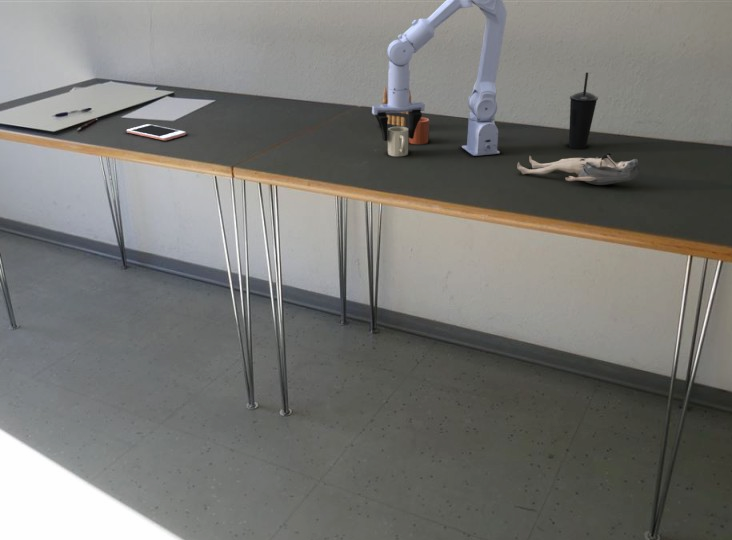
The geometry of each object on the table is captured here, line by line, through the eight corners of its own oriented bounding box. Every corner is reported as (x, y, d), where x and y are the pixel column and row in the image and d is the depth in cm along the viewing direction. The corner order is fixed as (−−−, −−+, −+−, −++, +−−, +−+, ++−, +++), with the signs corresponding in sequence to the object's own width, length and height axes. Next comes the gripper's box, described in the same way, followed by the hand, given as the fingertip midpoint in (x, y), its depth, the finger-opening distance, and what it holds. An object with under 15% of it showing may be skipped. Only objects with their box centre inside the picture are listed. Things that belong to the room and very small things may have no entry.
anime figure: (531, 148, 212) (646, 149, 195) (532, 176, 216) (644, 180, 198) (515, 157, 206) (631, 159, 188) (516, 185, 209) (631, 190, 192)
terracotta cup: (430, 143, 235) (431, 121, 232) (412, 145, 234) (412, 122, 231) (422, 136, 242) (422, 115, 238) (404, 138, 241) (404, 116, 237)
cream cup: (385, 151, 229) (385, 127, 225) (404, 150, 230) (404, 125, 226) (393, 159, 222) (393, 134, 219) (413, 157, 223) (413, 132, 220)
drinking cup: (592, 150, 226) (602, 75, 215) (564, 149, 227) (573, 75, 217) (590, 143, 232) (600, 70, 222) (563, 142, 234) (572, 69, 223)
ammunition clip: (412, 130, 249) (413, 89, 242) (409, 131, 247) (410, 90, 241) (384, 125, 254) (384, 85, 248) (381, 126, 253) (381, 86, 247)
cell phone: (164, 141, 242) (164, 138, 242) (126, 132, 252) (125, 129, 251) (186, 134, 248) (186, 131, 248) (148, 126, 258) (147, 123, 257)
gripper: (419, 83, 222) (418, 133, 230) (369, 87, 219) (369, 137, 227) (427, 88, 217) (426, 139, 224) (376, 92, 214) (376, 143, 221)
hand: (397, 138), depth 225 cm, fingers open, 7 cm apart
